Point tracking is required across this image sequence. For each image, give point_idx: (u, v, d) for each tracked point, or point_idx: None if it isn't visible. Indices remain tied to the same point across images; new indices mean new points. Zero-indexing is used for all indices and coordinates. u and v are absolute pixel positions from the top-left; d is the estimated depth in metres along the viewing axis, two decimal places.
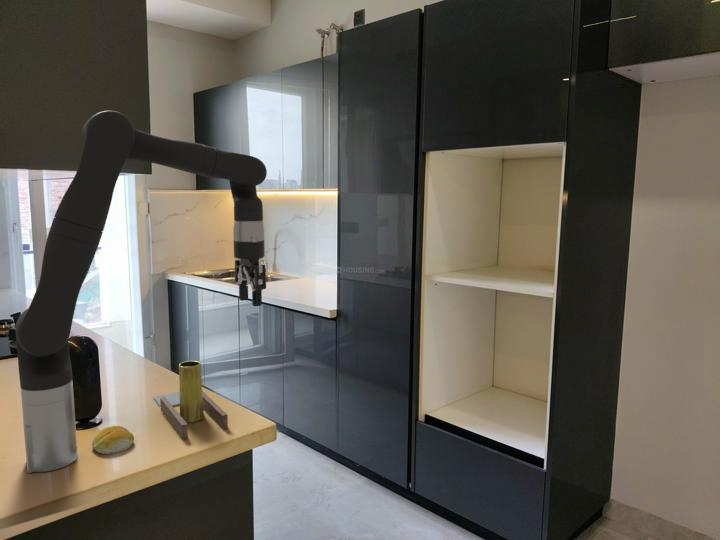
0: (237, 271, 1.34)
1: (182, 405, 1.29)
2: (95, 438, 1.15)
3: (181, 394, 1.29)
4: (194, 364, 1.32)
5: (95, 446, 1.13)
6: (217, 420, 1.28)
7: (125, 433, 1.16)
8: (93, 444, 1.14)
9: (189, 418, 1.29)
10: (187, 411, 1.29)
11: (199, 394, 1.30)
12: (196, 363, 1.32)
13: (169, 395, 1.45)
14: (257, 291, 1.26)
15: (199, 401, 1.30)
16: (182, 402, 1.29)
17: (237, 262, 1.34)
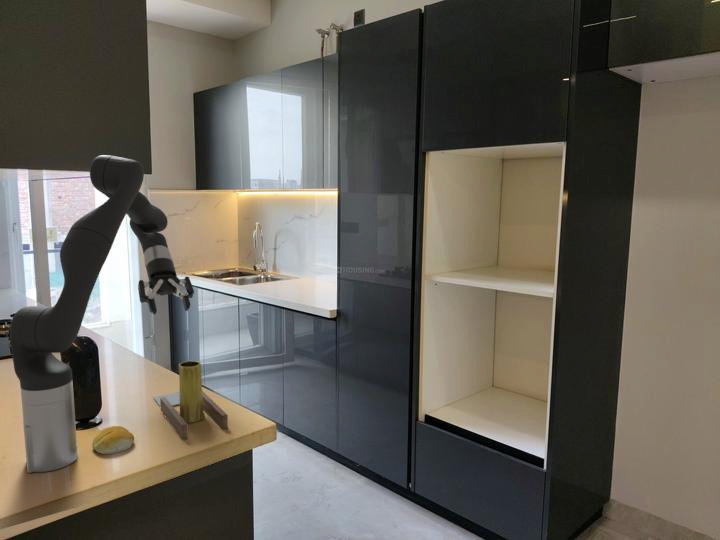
0: (144, 289, 1.42)
1: (182, 405, 1.29)
2: (95, 438, 1.15)
3: (181, 394, 1.29)
4: (194, 364, 1.32)
5: (95, 446, 1.13)
6: (217, 420, 1.28)
7: (125, 433, 1.16)
8: (93, 444, 1.14)
9: (189, 418, 1.29)
10: (187, 411, 1.29)
11: (199, 394, 1.30)
12: (196, 363, 1.32)
13: (169, 395, 1.45)
14: (188, 297, 1.46)
15: (199, 401, 1.30)
16: (182, 402, 1.29)
17: None
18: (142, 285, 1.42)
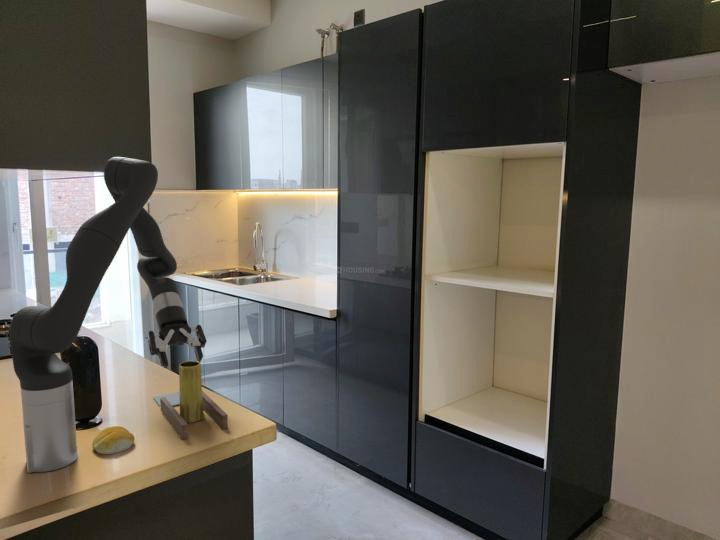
0: (154, 340, 1.34)
1: (182, 405, 1.29)
2: (95, 438, 1.15)
3: (181, 394, 1.29)
4: (194, 364, 1.32)
5: (95, 446, 1.13)
6: (217, 420, 1.28)
7: (125, 433, 1.16)
8: (93, 445, 1.14)
9: (189, 418, 1.29)
10: (187, 411, 1.29)
11: (199, 394, 1.30)
12: (196, 363, 1.32)
13: (169, 395, 1.45)
14: (200, 347, 1.39)
15: (199, 401, 1.30)
16: (182, 402, 1.29)
17: None
18: (152, 336, 1.34)
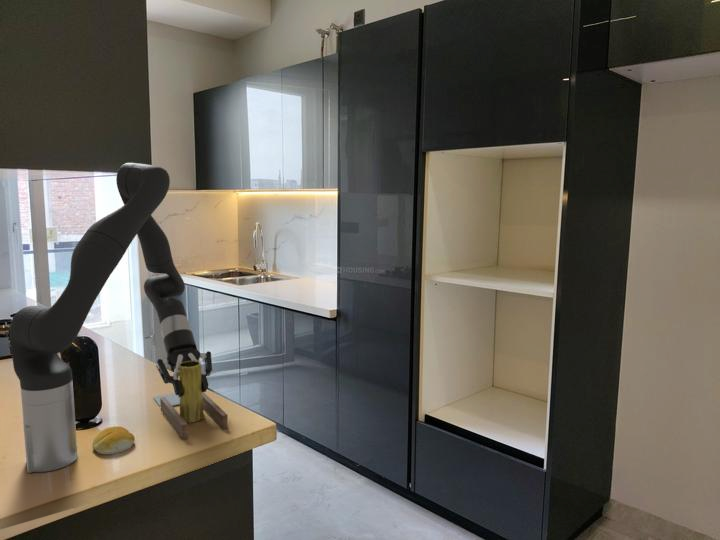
0: None
1: (182, 405, 1.29)
2: (95, 439, 1.15)
3: None
4: (194, 364, 1.32)
5: (96, 446, 1.13)
6: (217, 420, 1.28)
7: (126, 433, 1.16)
8: (93, 445, 1.14)
9: (189, 418, 1.29)
10: (187, 411, 1.29)
11: (199, 394, 1.30)
12: (196, 363, 1.32)
13: (169, 395, 1.45)
14: (206, 375, 1.33)
15: (199, 401, 1.30)
16: (182, 402, 1.29)
17: None
18: (162, 365, 1.29)
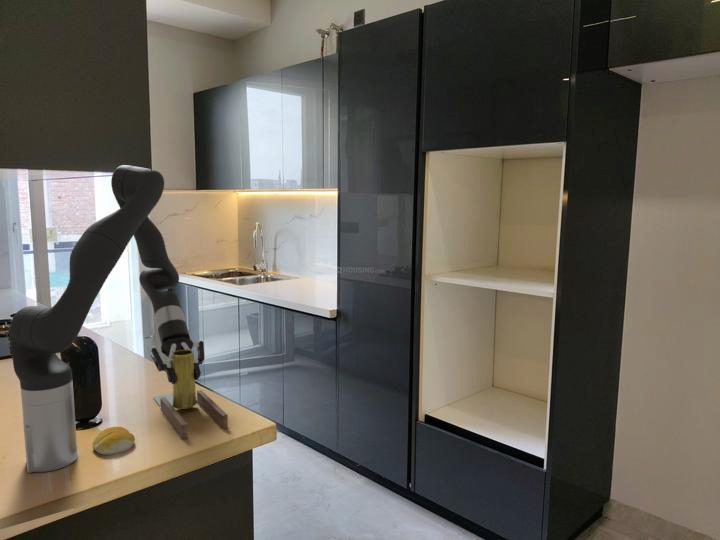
0: None
1: (175, 392, 1.34)
2: (96, 439, 1.15)
3: None
4: (187, 353, 1.37)
5: (96, 446, 1.13)
6: (217, 420, 1.28)
7: (126, 433, 1.16)
8: (94, 445, 1.14)
9: (182, 404, 1.34)
10: (180, 398, 1.33)
11: (192, 382, 1.35)
12: (189, 352, 1.37)
13: (169, 395, 1.45)
14: (198, 364, 1.38)
15: (192, 388, 1.35)
16: (175, 389, 1.34)
17: None
18: (156, 353, 1.34)
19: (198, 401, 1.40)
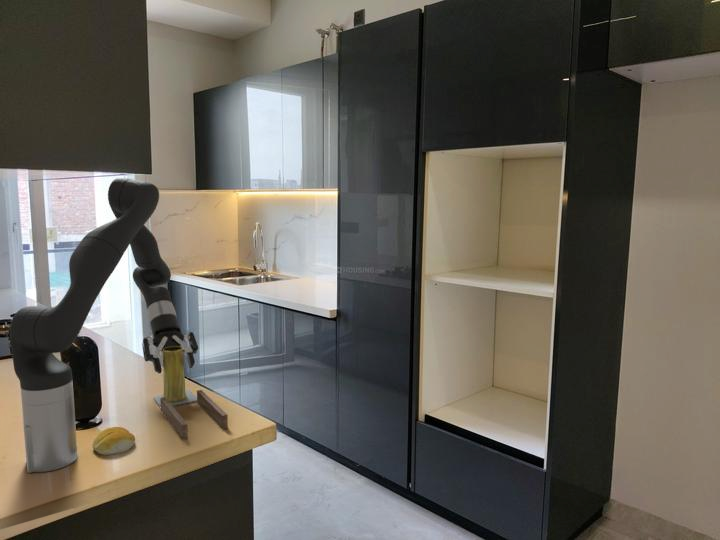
0: (148, 347, 1.41)
1: (166, 386, 1.40)
2: (96, 439, 1.14)
3: (165, 376, 1.40)
4: (177, 349, 1.44)
5: (96, 447, 1.13)
6: (217, 420, 1.28)
7: (126, 434, 1.15)
8: (94, 445, 1.14)
9: (172, 398, 1.40)
10: (170, 392, 1.40)
11: (181, 376, 1.42)
12: (179, 348, 1.44)
13: None
14: (192, 353, 1.46)
15: (181, 383, 1.42)
16: (166, 383, 1.40)
17: (147, 340, 1.42)
18: (146, 343, 1.41)
19: (198, 401, 1.40)
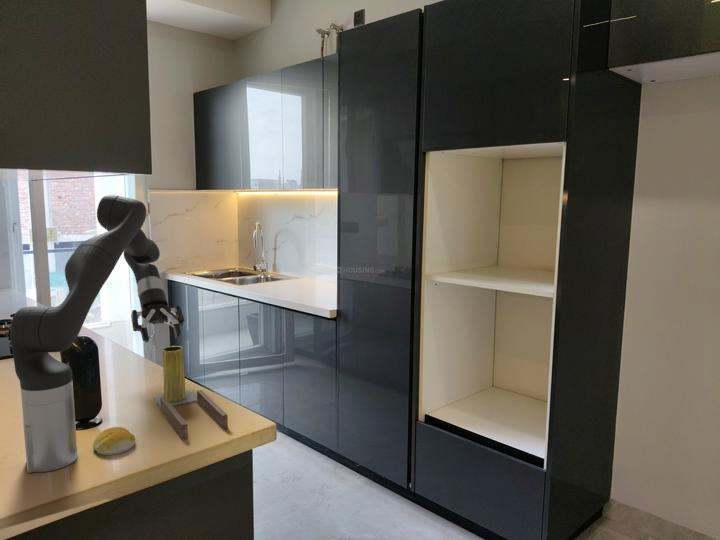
0: None
1: (166, 386, 1.40)
2: (96, 439, 1.14)
3: (165, 376, 1.40)
4: (177, 349, 1.44)
5: (96, 447, 1.13)
6: (217, 420, 1.28)
7: (126, 434, 1.15)
8: (94, 445, 1.14)
9: (172, 398, 1.40)
10: (170, 392, 1.40)
11: (181, 376, 1.41)
12: (179, 348, 1.44)
13: None
14: (179, 325, 1.55)
15: (181, 383, 1.42)
16: (166, 383, 1.40)
17: None
18: (135, 315, 1.51)
19: (198, 401, 1.40)
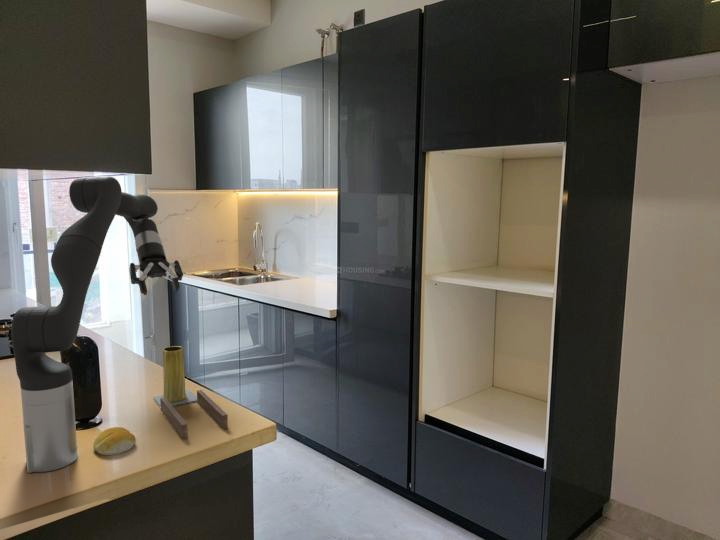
0: None
1: (166, 386, 1.40)
2: (96, 439, 1.14)
3: (165, 376, 1.40)
4: (177, 349, 1.44)
5: (97, 447, 1.13)
6: (217, 420, 1.28)
7: (127, 434, 1.15)
8: (94, 445, 1.13)
9: (172, 398, 1.40)
10: (170, 392, 1.40)
11: (181, 376, 1.41)
12: (179, 348, 1.44)
13: None
14: (177, 279, 1.53)
15: (181, 383, 1.42)
16: (166, 383, 1.40)
17: None
18: (133, 267, 1.49)
19: (198, 401, 1.40)
